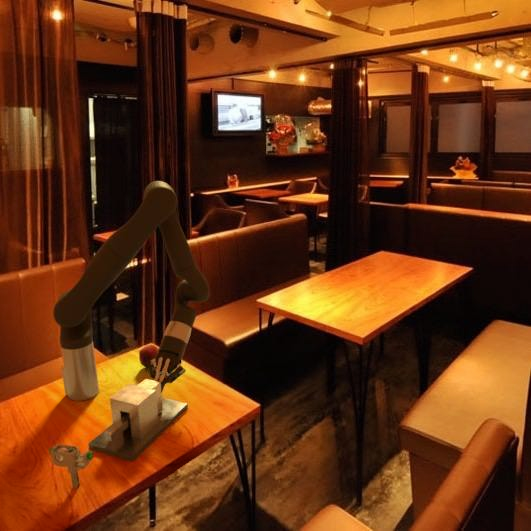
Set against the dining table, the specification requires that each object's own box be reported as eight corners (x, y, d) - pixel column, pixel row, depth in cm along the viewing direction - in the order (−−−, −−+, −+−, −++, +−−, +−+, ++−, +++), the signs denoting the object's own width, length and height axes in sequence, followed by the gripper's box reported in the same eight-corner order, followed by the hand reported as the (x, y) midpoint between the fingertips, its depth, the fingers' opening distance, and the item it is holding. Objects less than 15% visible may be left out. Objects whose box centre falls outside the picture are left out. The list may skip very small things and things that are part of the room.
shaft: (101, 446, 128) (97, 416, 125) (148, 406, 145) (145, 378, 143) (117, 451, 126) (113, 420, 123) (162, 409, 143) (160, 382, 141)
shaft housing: (88, 448, 130) (83, 410, 127) (148, 398, 153) (145, 364, 150) (132, 462, 125) (128, 422, 121) (187, 408, 148) (185, 373, 144)
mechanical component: (92, 493, 115) (87, 456, 112) (52, 487, 116) (46, 451, 114) (99, 484, 117) (94, 448, 114) (60, 479, 119) (54, 443, 116)
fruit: (165, 362, 176) (163, 341, 174) (161, 372, 168) (159, 351, 166) (143, 362, 176) (141, 341, 174) (137, 373, 168) (135, 351, 166)
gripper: (151, 331, 150) (129, 387, 143) (189, 338, 145) (168, 396, 138) (163, 340, 157) (142, 394, 149) (199, 347, 152) (180, 403, 144)
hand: (155, 395), depth 144 cm, fingers closed
